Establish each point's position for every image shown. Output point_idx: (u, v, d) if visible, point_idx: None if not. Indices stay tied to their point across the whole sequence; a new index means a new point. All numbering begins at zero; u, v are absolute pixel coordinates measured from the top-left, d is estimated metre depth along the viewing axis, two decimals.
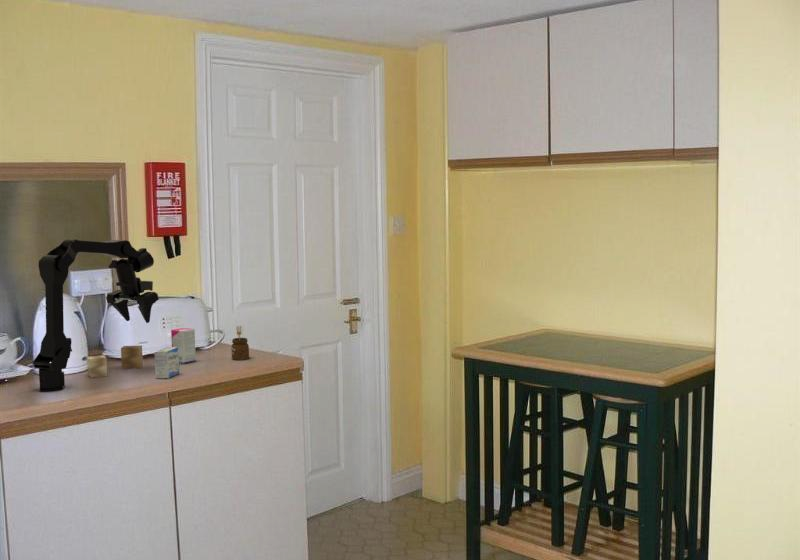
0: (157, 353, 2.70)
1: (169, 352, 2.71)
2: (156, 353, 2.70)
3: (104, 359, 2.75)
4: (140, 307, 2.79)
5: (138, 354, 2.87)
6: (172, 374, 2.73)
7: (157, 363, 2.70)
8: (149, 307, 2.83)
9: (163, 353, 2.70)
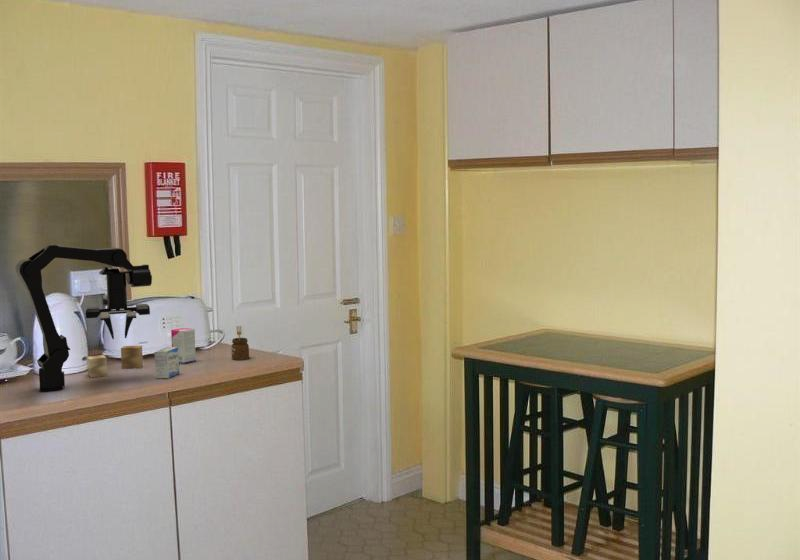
0: (157, 353, 2.70)
1: (169, 352, 2.71)
2: (156, 353, 2.70)
3: (104, 359, 2.75)
4: (130, 318, 2.66)
5: (138, 354, 2.87)
6: (172, 374, 2.73)
7: (157, 363, 2.70)
8: None
9: (163, 353, 2.70)
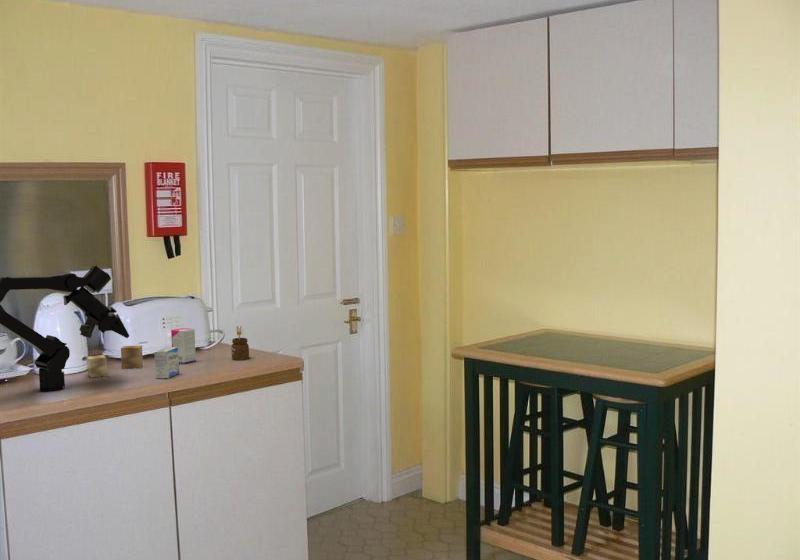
0: (157, 353, 2.70)
1: (169, 352, 2.71)
2: (156, 353, 2.70)
3: (104, 359, 2.75)
4: (118, 315, 2.70)
5: (138, 354, 2.87)
6: (172, 374, 2.73)
7: (157, 363, 2.70)
8: None
9: (163, 353, 2.70)
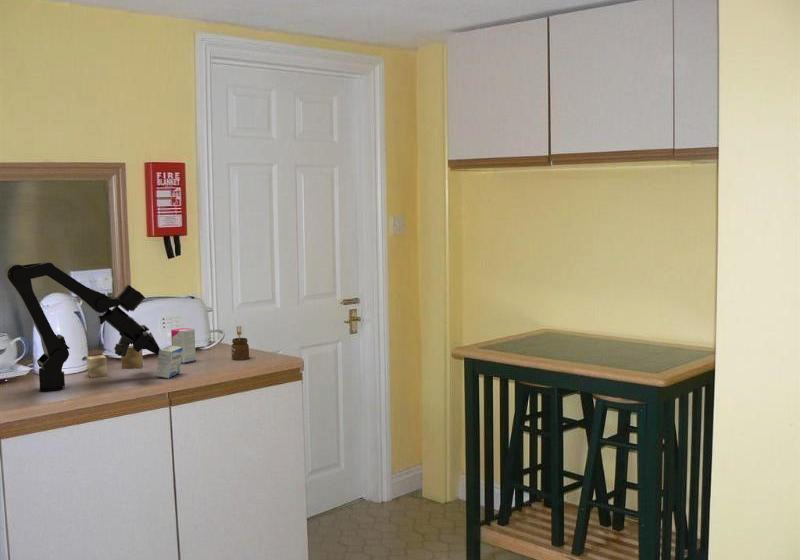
0: (161, 351, 2.70)
1: (173, 353, 2.71)
2: (160, 351, 2.70)
3: (104, 359, 2.75)
4: (151, 333, 2.73)
5: (138, 354, 2.87)
6: (172, 374, 2.73)
7: (160, 361, 2.70)
8: None
9: (168, 352, 2.69)
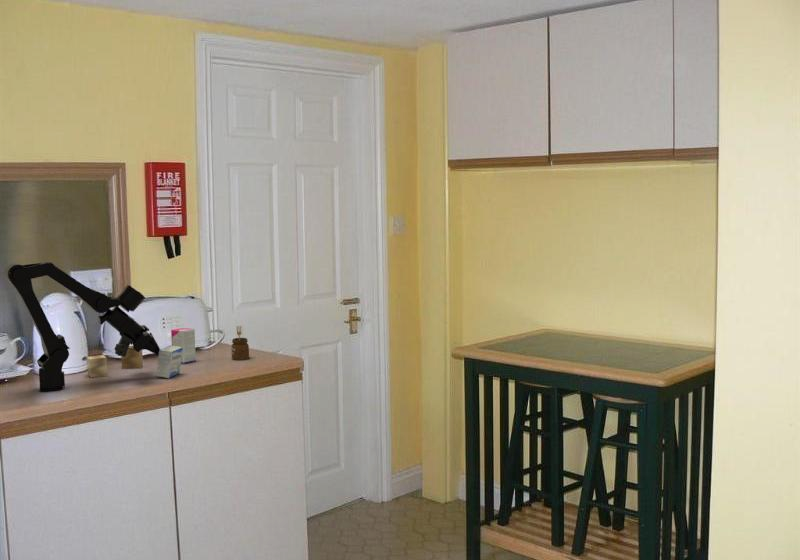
0: (162, 351, 2.70)
1: (173, 353, 2.71)
2: (161, 351, 2.70)
3: (104, 359, 2.75)
4: (151, 334, 2.73)
5: (138, 354, 2.87)
6: (172, 374, 2.73)
7: (160, 361, 2.70)
8: None
9: (168, 352, 2.69)
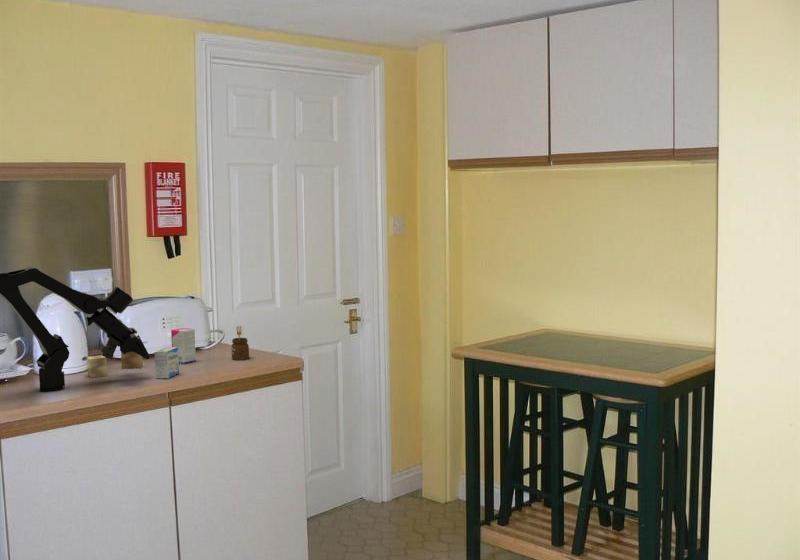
0: (157, 353, 2.70)
1: (169, 352, 2.71)
2: (156, 353, 2.70)
3: (104, 359, 2.75)
4: (139, 336, 2.72)
5: None
6: (172, 374, 2.73)
7: (157, 363, 2.70)
8: None
9: (163, 353, 2.70)
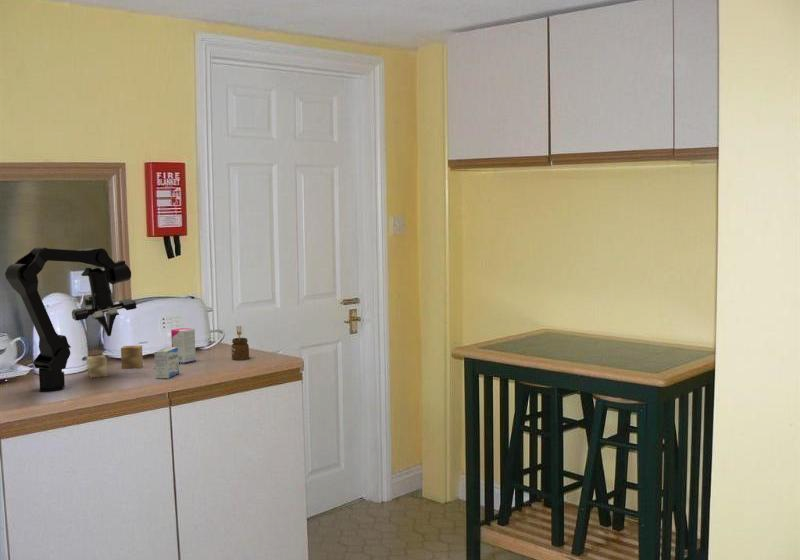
0: (157, 353, 2.70)
1: (169, 352, 2.71)
2: (156, 353, 2.70)
3: (104, 359, 2.75)
4: (113, 315, 2.71)
5: (138, 354, 2.87)
6: (172, 374, 2.73)
7: (157, 363, 2.70)
8: None
9: (163, 353, 2.70)
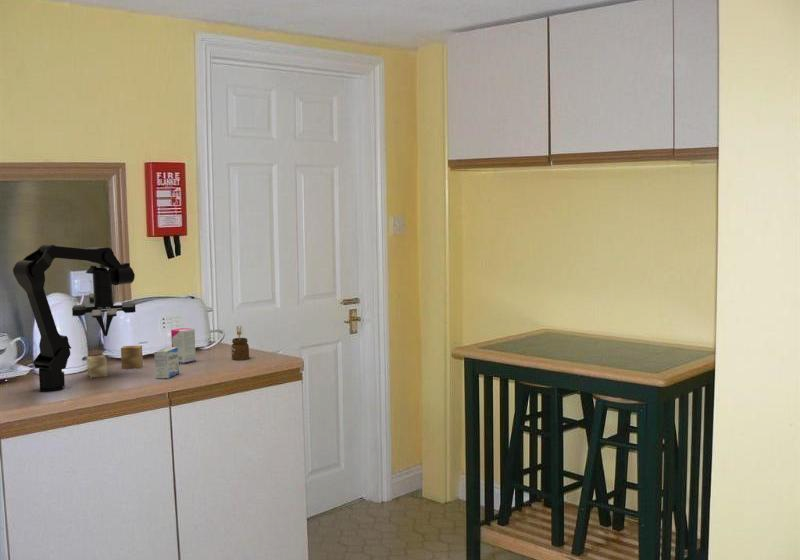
0: (157, 353, 2.70)
1: (169, 352, 2.71)
2: (156, 353, 2.70)
3: (104, 359, 2.75)
4: (110, 316, 2.71)
5: (138, 354, 2.87)
6: (172, 374, 2.73)
7: (157, 363, 2.70)
8: None
9: (163, 353, 2.70)
